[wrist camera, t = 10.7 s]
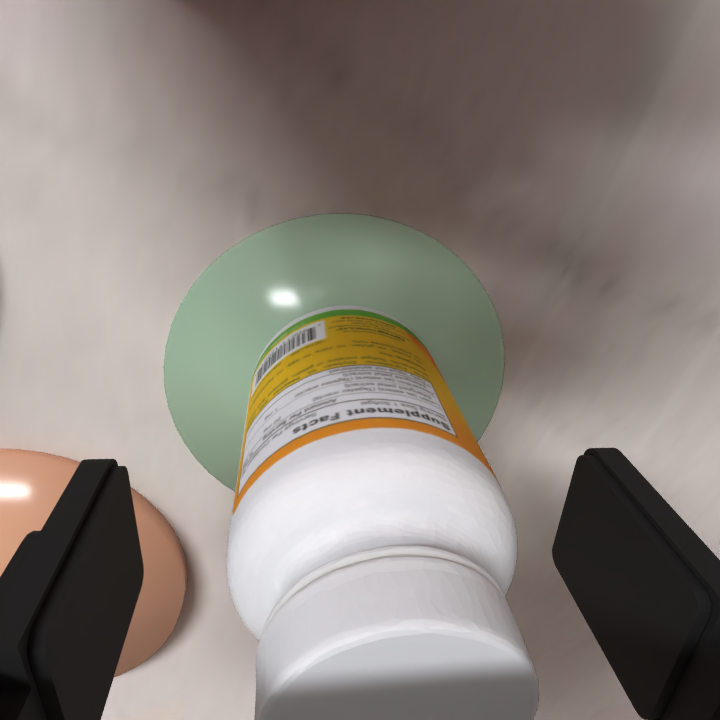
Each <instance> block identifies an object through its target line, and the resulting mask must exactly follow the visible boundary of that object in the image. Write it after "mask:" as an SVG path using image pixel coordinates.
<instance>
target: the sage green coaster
mask: <svg viewBox="0 0 720 720" xmlns="http://www.w3.org/2000/svg"><path fill="white" fill-rule="evenodd" d="M338 305H355V306H363V307H368V308H372V309H376V310H379V311H382V312H384V313H387V314H389V315H391V316H393V317H395V318H397V319H398V320H400V321H401V322H403V323H404V324H406V325H407V326H408V327H409V328H410V329H412V330H413V331H414V332H415V333H416V334H417V336H418V337H419V338H420V339H421V340H422V342H423V343H424V345H425V346H426V348H427V350H428V351H429V353H430V354H431V356H432V358H433V360H434V361H435V363H436V365H437V367H438V369H439V371H440V373H441V375H442V377H443V378H444V380H445V382H446V384H447V386H448V388H449V390H450V392H451V394H452V396H453V398H454V400H455V401H456V403H457V405H458V407H459V409H460V411H461V412H462V414H463V416H464V418H465V420H466V422H467V424H468V426H469V428H470V430H471V432H472V434H473V436H474V437H475V439H476V441H477V442H478V440H479V439H480V438H481V436H482V434H483V433H484V431H485V429H486V427H487V425H488V424H489V422H490V420H491V418H492V415H493V413H494V410H495V408H496V405H497V403H498V399H499V395H500V391H501V387H502V383H503V374H504V365H505V364H504V343H503V337H502V332H501V326H500V323H499V320H498V317H497V314H496V311H495V308H494V306H493V304H492V302H491V300H490V298H489V296H488V294H487V292H486V290H485V288H484V287H483V286H482V284H481V283H480V282H479V280H478V279H477V277H476V276H475V275H474V273H473V272H472V271H471V270H470V269H469V268H468V267H467V266H466V265H465V264H464V263H463V261H462V260H461V259H460V258H459V257H458V256H457V255H455V254H454V253H453V252H451V251H450V250H449V249H448V248H446V247H445V246H444V245H442V244H441V243H440V242H438V241H437V240H435V239H433V238H431V237H429V236H428V235H426V234H424V233H422V232H420V231H419V230H416V229H414V228H411V227H408V226H406V225H403V224H401V223H398V222H396V221H391V220H387V219H383V218H379V217H374V216H368V215H358V214H348V213H342V214H320V215H314V216H308V217H302V218H296V219H293V220H290V221H286V222H283V223H280V224H277V225H274V226H271V227H268V228H266V229H264V230H262V231H260V232H258V233H256V234H254V235H251V236H249V237H247V238H246V239H244V240H243V241H241V242H240V243H238V244H237V245H235V246H233V247H232V248H230V249H229V250H227V251H226V252H225V253H224V254H223V255H221V256H220V257H219V258H218V259H217V260H216V261H215V262H213V263H212V264H211V265H210V266H209V267H208V268H207V269H206V270H205V271H204V273H203V274H202V275H201V276H200V277H199V278H198V280H197V281H196V282H195V283H194V284H193V286H192V287H191V289H190V290H189V292H188V294H187V295H186V297H185V298H184V300H183V301H182V303H181V305H180V307H179V309H178V312H177V314H176V316H175V318H174V321H173V323H172V325H171V329H170V333H169V336H168V340H167V344H166V350H165V359H164V387H165V392H166V397H167V402H168V407H169V410H170V413H171V416H172V418H173V421H174V424H175V426H176V428H177V430H178V432H179V434H180V436H181V438H182V439H183V441H184V443H185V445H186V446H187V447H188V449H189V450H190V451H191V453H192V454H193V456H194V457H195V458H196V459H197V461H198V462H199V463H200V464H201V465H202V466H203V467H204V468H205V469H206V470H207V471H208V472H209V473H210V474H211V475H213V476H214V477H215V478H216V479H218V480H219V481H220V482H221V483H222V484H224V485H225V486H227V487H228V488H230V489H232V490H233V491H235V490H236V483H237V476H238V470H239V463H240V456H241V449H242V441H243V434H244V427H245V420H246V413H247V406H248V399H249V392H250V387H251V382H252V377H253V373H254V369H255V366H256V364H257V361H258V359H259V357H260V355H261V353H262V352H263V350H264V348H265V347H266V345H267V344H268V343H269V341H270V340H271V339H272V338H273V337H274V336H275V335H276V334H277V333H278V332H279V331H280V330H281V329H282V328H283V327H285V326H286V325H287V324H289V323H290V322H292V321H293V320H295V319H297V318H299V317H301V316H303V315H305V314H307V313H310V312H312V311H315V310H318V309H322V308H326V307H331V306H338Z"/></svg>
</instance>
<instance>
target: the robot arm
mask: <svg viewBox="0 0 720 720" xmlns="http://www.w3.org/2000/svg"><path fill="white" fill-rule="evenodd" d="M552 555H553V560H554V563H555V566H556V568H557V569H558V571H559V573H560V575H561V577H562V578H563V580H564V582H565V584H566V586H567V587H568V589H569V591H570V593H571V595H572V596H573V598H574V600H575V602H576V604H577V605H578V607H579V609H580V611H581V613H582V614H583V616H584V618H585V620H586V622H587V623H588V625H589V627H590V629H591V631H592V633H593V634H594V636H595V638H596V640H597V642H598V643H599V645H600V647H601V649H602V651H603V652H604V654H605V656H606V658H607V660H608V661H609V663H610V665H611V667H612V669H613V670H614V672H615V674H616V676H617V678H618V679H619V681H620V683H621V685H622V687H623V688H624V690H625V692H626V694H627V696H628V698H629V699H630V701H631V703H632V705H633V707H634V708H635V710H636V712H637V713H638V715H639V716H640V717H641V718H643V719H645V720H646V719H648V720H720V560H719V559H718V558H717V557H716V556H715V554H714V553H713V552H712V551H711V550H710V549H709V548H708V547H707V546H706V545H705V544H704V542H703V541H702V540H701V539H700V538H699V537H698V536H697V535H696V534H695V533H694V531H693V530H692V529H691V528H690V527H689V526H688V525H687V524H686V523H685V522H684V521H683V519H682V518H681V517H680V516H679V515H678V514H677V513H676V512H675V511H674V510H673V508H672V507H671V506H670V505H669V504H668V503H667V502H666V501H665V500H664V499H663V498H662V496H661V495H660V494H659V493H658V492H657V491H656V490H655V489H654V488H653V487H652V485H651V484H650V483H649V482H648V481H647V480H646V479H645V478H644V477H643V476H642V475H641V473H640V472H639V471H638V470H637V469H636V468H635V467H634V466H633V465H632V464H631V462H630V461H629V460H628V459H627V458H626V457H625V456H624V455H623V454H622V453H621V452H620V451H619V450H618V449H616V448H590V449H587V450H586V451H585V453H584V455H581V456H579V457H578V458H577V461H576V464H575V468H574V472H573V475H572V479H571V482H570V486H569V490H568V493H567V497H566V501H565V504H564V508H563V512H562V515H561V519H560V522H559V526H558V530H557V533H556V537H555V541H554V544H553V549H552ZM143 577H144V565H143V559H142V553H141V547H140V541H139V535H138V529H137V523H136V517H135V511H134V505H133V499H132V493H131V487H130V481H129V475H128V471H127V468H126V467H125V466H118V464H117V462H116V460H115V459H88V460H83V461H81V463H80V464H79V466H78V467H77V469H76V471H75V473H74V474H73V476H72V478H71V479H70V481H69V483H68V485H67V486H66V488H65V490H64V492H63V493H62V495H61V497H60V498H59V500H58V502H57V504H56V505H55V507H54V509H53V510H52V512H51V514H50V516H49V517H48V519H47V521H46V523H45V524H44V526H43V528H42V529H41V531H32V532H30V533H29V534H27V535H26V537H25V538H24V539H23V541H22V542H21V544H20V545H19V547H18V549H17V550H16V552H15V554H14V555H13V557H12V558H11V560H10V562H9V563H8V565H7V567H6V568H5V570H4V572H3V573H2V575H1V577H0V720H101V716H102V713H103V710H104V707H105V703H106V700H107V697H108V694H109V691H110V687H111V684H112V681H113V678H114V674H115V671H116V668H117V665H118V662H119V658H120V655H121V652H122V649H123V645H124V642H125V639H126V636H127V632H128V629H129V626H130V623H131V620H132V616H133V613H134V610H135V607H136V603H137V600H138V597H139V594H140V591H141V587H142V583H143Z"/></svg>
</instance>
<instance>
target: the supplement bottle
mask: <svg viewBox="0 0 720 720" xmlns="http://www.w3.org/2000/svg"><path fill="white" fill-rule="evenodd" d="M517 547H518V542H517V533H516V527H515V522H514V518H513V515H512V512H511V509H510V507H509V504H508V502H507V500H506V498H505V496H504V493H503V491H502V489H501V486H500V485H499V483H498V481H497V479H496V477H495V475H494V473H493V471H492V469H491V467H490V466H489V464H488V462H487V460H486V458H485V456H484V454H483V453H482V451H481V449H480V447H479V445H478V443H477V441H476V439H475V437H474V436H473V434H472V432H471V430H470V428H469V426H468V424H467V422H466V420H465V418H464V416H463V414H462V412H461V411H460V409H459V407H458V405H457V403H456V401H455V400H454V398H453V396H452V394H451V392H450V390H449V388H448V386H447V384H446V382H445V380H444V378H443V377H442V375H441V373H440V371H439V369H438V367H437V365H436V363H435V361H434V360H433V358H432V356H431V354H430V353H429V351H428V350H427V348H426V346H425V345H424V343H423V342H422V340H421V339H420V338H419V337H418V336H417V334H416V333H415V332H414V331H413V330H412V329H410V328H409V327H408V326H407V325H406V324H404V323H403V322H401V321H400V320H398V319H397V318H395V317H393V316H391V315H389V314H387V313H384V312H382V311H379V310H376V309H372V308H368V307H363V306H355V305H338V306H331V307H326V308H322V309H318V310H315V311H312V312H310V313H307V314H305V315H303V316H301V317H299V318H297V319H295V320H293V321H292V322H290V323H289V324H287V325H286V326H285V327H283V328H282V329H281V330H280V331H279V332H278V333H277V334H276V335H275V336H274V337H273V338H272V339H271V340H270V341H269V343H268V344H267V345H266V347H265V348H264V350H263V352H262V353H261V355H260V357H259V359H258V361H257V364H256V366H255V369H254V373H253V377H252V382H251V387H250V392H249V399H248V406H247V413H246V420H245V427H244V434H243V441H242V449H241V456H240V463H239V470H238V476H237V483H236V490H235V497H234V503H233V510H232V516H231V523H230V530H229V538H228V548H227V580H228V585H229V590H230V594H231V597H232V600H233V603H234V606H235V608H236V610H237V612H238V614H239V616H240V618H241V619H242V621H243V623H244V624H245V626H246V628H247V629H248V630H249V631H250V632H251V634H252V635H253V636H254V637H255V638H256V639H257V640H258V641H259V642H260V643H259V645H258V650H257V654H256V703H255V720H533V719H534V717H535V714H536V711H537V707H538V701H539V685H538V679H537V675H536V670H535V668H534V665H533V663H532V660H531V658H530V656H529V653H528V650H527V648H526V645H525V643H524V640H523V638H522V635H521V633H520V630H519V628H518V626H517V623H516V621H515V619H514V616H513V614H512V612H511V609H510V607H509V605H508V603H507V600H506V597H505V596H506V594H507V592H508V589H509V587H510V584H511V582H512V579H513V576H514V572H515V568H516V562H517Z"/></svg>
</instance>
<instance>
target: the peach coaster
mask: <svg viewBox="0 0 720 720" xmlns="http://www.w3.org/2000/svg"><path fill="white" fill-rule="evenodd" d="M80 463H81V462H78V461H75V460H72V459H69V458H65V457H61V456H56V455H52V454H48V453H43V452H36V451H28V450H21V449H0V577H1V575H2V573H3V572H4V570H5V568H6V567H7V565H8V563H9V562H10V560H11V558H12V557H13V555H14V554H15V552H16V550H17V549H18V547H19V545H20V544H21V542H22V541H23V539H24V538H25V537H26V535H27V534H29V533H30V532H32V531H41V529H42V528H43V526H44V524H45V523H46V521H47V519H48V517H49V516H50V514H51V512H52V510H53V509H54V507H55V505H56V504H57V502H58V500H59V498H60V497H61V495H62V493H63V492H64V490H65V488H66V486H67V485H68V483H69V481H70V479H71V478H72V476H73V474H74V473H75V471H76V469H77V467H78V466H79V464H80ZM131 493H132V499H133V505H134V511H135V517H136V523H137V529H138V535H139V541H140V547H141V553H142V559H143V565H144V577H143V583H142V587H141V591H140V594H139V597H138V600H137V603H136V607H135V610H134V613H133V616H132V620H131V623H130V626H129V629H128V632H127V636H126V639H125V642H124V645H123V649H122V652H121V655H120V658H119V662H118V665H117V668H116V671H115V674H114V677H116V676H119V675H121V674H123V673H125V672H127V671H129V670H131V669H133V668H135V667H136V666H138V665H139V664H141V663H142V662H144V661H145V660H147V659H148V658H149V657H150V656H152V655H153V654H154V653H155V652H156V651H157V650H158V649H159V648H160V647H161V646H162V645H163V644H164V642H165V641H166V640H167V639H168V638H169V636H170V634H171V632H172V631H173V629H174V627H175V626H176V623H177V620H178V617H179V615H180V612H181V608H182V604H183V600H184V596H185V591H186V585H187V565H186V560H185V555H184V552H183V549H182V547H181V544H180V542H179V539H178V537H177V536H176V534H175V532H174V530H173V529H172V527H171V525H170V524H169V523H168V521H167V520H166V519H165V518H164V517H163V515H162V514H161V513H160V512H159V510H157V509H156V508H155V507H154V506H153V505H152V504H151V503H150V502H149V501H148V500H147V499H146V498H145V497H143V496H142V495H141V494H139V493H138V492H137V491H135V490H134V489H133V488H131Z"/></svg>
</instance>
